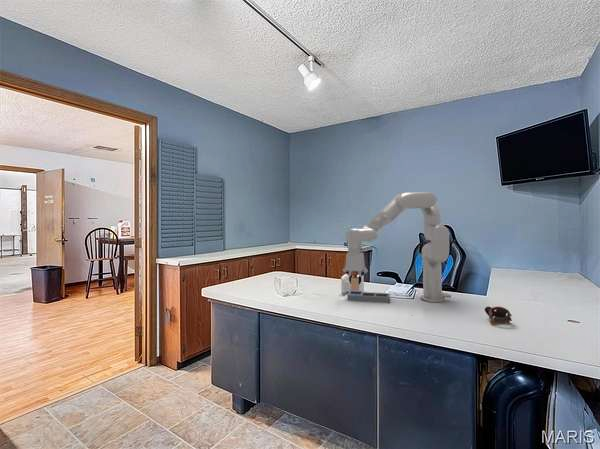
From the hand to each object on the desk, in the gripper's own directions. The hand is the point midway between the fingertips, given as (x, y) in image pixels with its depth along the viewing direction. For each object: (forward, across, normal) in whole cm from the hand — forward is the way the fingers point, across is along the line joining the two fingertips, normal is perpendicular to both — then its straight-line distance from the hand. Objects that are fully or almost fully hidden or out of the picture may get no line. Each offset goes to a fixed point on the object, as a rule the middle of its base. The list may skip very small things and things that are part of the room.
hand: (355, 283), depth 174 cm
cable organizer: (+11, +4, -18) cm, 21 cm away
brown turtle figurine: (+10, -64, +19) cm, 68 cm away
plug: (+4, 0, 0) cm, 4 cm away
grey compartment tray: (+10, -7, 0) cm, 13 cm away
